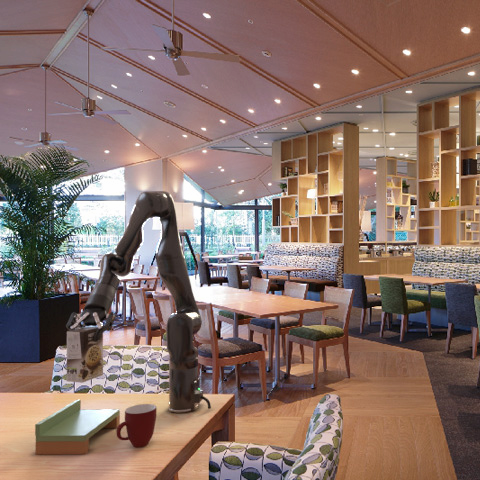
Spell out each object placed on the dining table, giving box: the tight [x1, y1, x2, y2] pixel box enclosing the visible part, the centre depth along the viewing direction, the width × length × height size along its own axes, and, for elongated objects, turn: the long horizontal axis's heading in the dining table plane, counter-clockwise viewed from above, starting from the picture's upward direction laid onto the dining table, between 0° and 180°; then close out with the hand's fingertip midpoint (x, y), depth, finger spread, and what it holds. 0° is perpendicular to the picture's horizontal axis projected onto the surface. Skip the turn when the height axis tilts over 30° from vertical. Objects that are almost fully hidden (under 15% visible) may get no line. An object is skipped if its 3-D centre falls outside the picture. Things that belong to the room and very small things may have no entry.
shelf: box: [34, 399, 121, 455], centre depth 140 cm, size 13×20×8 cm, turn 2°
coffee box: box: [66, 326, 104, 384], centre depth 158 cm, size 9×6×16 cm
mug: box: [115, 403, 157, 448], centre depth 135 cm, size 10×8×10 cm
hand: (82, 340), depth 157 cm, fingers closed on coffee box, 7 cm apart
